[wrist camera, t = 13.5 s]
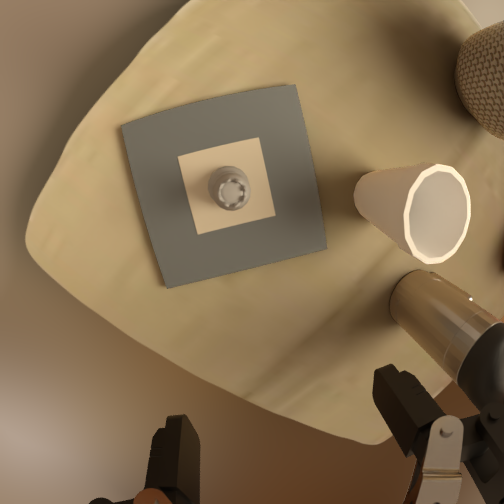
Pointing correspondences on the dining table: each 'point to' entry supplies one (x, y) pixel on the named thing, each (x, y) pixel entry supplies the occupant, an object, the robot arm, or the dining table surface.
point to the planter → (483, 77)
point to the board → (208, 161)
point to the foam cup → (417, 208)
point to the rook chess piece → (229, 188)
